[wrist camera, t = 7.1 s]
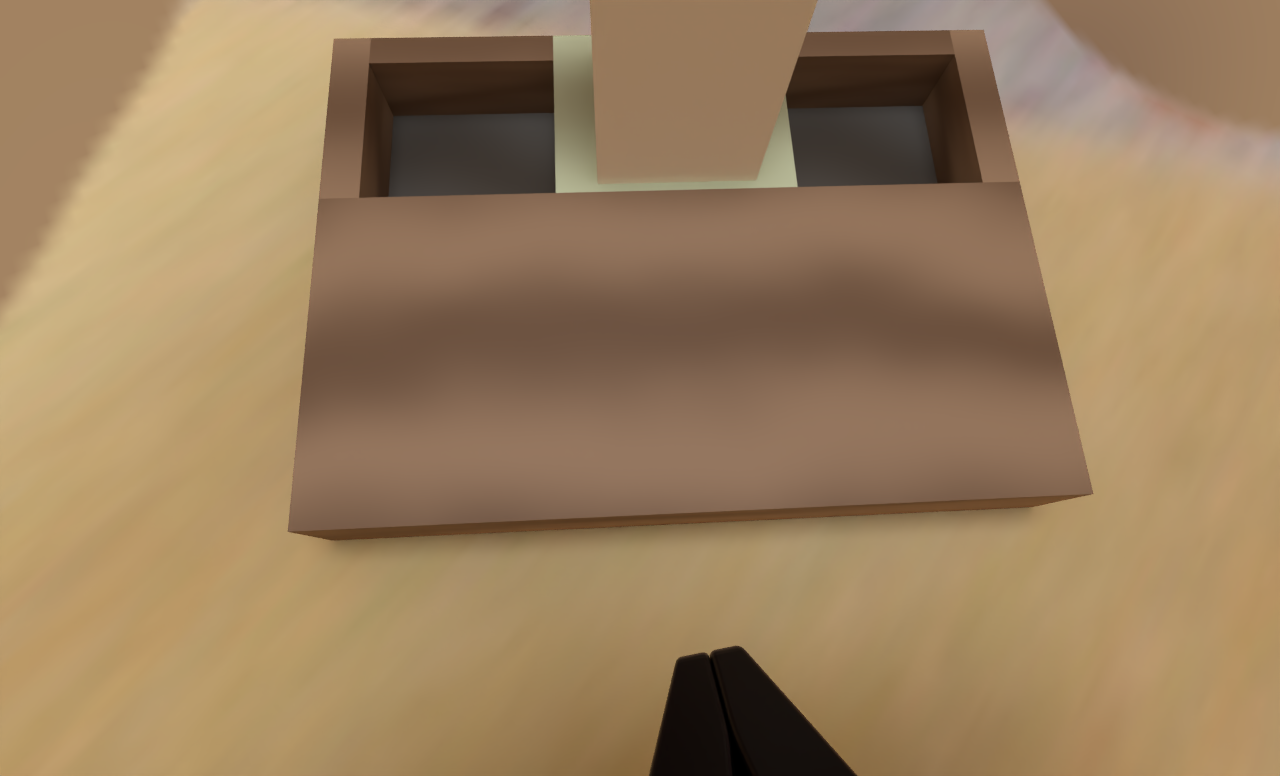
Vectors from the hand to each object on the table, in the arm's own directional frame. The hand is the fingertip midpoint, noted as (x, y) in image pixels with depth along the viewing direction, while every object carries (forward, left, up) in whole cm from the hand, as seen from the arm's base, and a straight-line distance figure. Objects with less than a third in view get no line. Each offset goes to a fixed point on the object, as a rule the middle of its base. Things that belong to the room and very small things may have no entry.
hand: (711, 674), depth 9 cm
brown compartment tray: (+8, -8, -12) cm, 17 cm away
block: (+12, -11, -9) cm, 18 cm away
